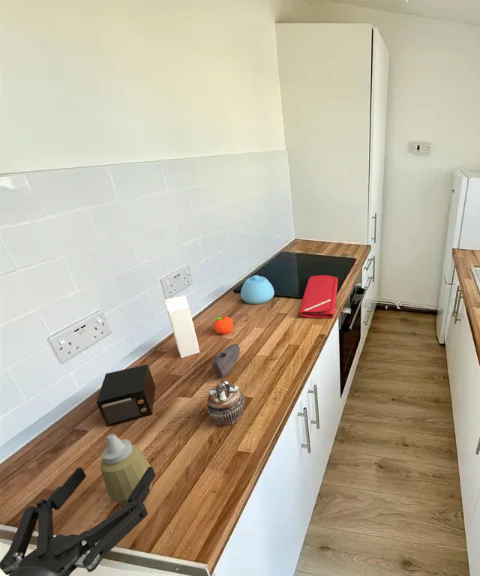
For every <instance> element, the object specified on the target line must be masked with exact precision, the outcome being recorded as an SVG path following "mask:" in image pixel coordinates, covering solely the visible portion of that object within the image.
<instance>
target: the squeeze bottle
mask: <svg viewBox="0 0 480 576" xmlns="http://www.w3.org/2000/svg"><path fill="white" fill-rule="evenodd" d="M106 440H107V441H106V442H107V446H106V447H105V449H103V451H102V452H101V453H102V454H101V456H102V460H101V462H100V471H101V475H102V478H103V482H104V485H105V489H106V494H107V496H108V497H109V499H110V500H111V501H113V502H114V503H117V504H119V505H122V506H123V507H124V506H126V505H127V504H129V502H128V500H127V499H128V498H129V496H130V495H131V493H132V492H133V490H134V489H135V487H136V486H137V484H138V482H139V481H140V479H141V478H142V476H143V475H144V473H145V472H146V470H147V469H148V467H152V466H151V464H150V463H149V460H147V458H146V456H145V455H144V453H143V451H142V449H140V447H139V446H138V445H137V444H135V443H131V441H130V440H129V439H126V438H125V439H124V438H123V439H120V438H119V437H118V436H117V435H116V434H115V433H110V434H109V435H107V436H106ZM153 482H154V480H153V481H152V482H151V484H150V486H149V489H150V492H149V494H150V493H151V491H152V488H153Z"/></svg>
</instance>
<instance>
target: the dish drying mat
mask: <svg viewBox="0 0 480 576" xmlns="http://www.w3.org/2000/svg"><path fill="white" fill-rule="evenodd" d="M338 281H339V278H338V277H337V276H333V275H325V274H324V275H322V274H320V275H312V276H309V278H308V280H307V283H306V286H305V290H304V293H303V296H302V300H301V303H300V307H299V310H298V315H299V316H300V317H303V318H307V319H309V318H310V319H333V318H334V314H335V309H336V304H337V303H336V302H337V294H338V285H339V282H338Z"/></svg>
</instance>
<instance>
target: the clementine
mask: <svg viewBox="0 0 480 576" xmlns="http://www.w3.org/2000/svg"><path fill="white" fill-rule="evenodd" d="M212 322H214V323H213V329H214V330H215V332H217V334H220V335H226V334H229V333H230V332H232V331H233V328H234V320H233V319H232V318H230V317H229V316H225V315H223V316H219V317H218V316H217V317H216V318H214V319H213V320H212Z"/></svg>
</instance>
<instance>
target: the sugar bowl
mask: <svg viewBox="0 0 480 576" xmlns="http://www.w3.org/2000/svg"><path fill="white" fill-rule="evenodd" d="M274 296H275V289H274V286H273V285H272V283H271V282H270V281H269V280H268V279H267V278H266V277H264V276H262V275H261V276H260V275H257V274H255V275H252V276H251V277H247V279H245V281H244V283H243V285H242V287H241V289H240V299H241V300H242V301H244V302H245V303H247V304H250V305H261V304H265V303H268V302H269V301H271V300H272V299H273V297H274Z"/></svg>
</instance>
